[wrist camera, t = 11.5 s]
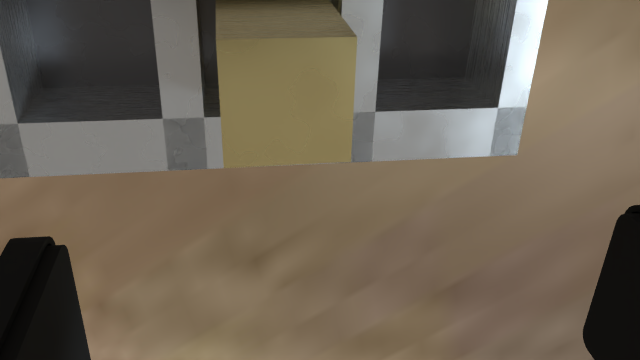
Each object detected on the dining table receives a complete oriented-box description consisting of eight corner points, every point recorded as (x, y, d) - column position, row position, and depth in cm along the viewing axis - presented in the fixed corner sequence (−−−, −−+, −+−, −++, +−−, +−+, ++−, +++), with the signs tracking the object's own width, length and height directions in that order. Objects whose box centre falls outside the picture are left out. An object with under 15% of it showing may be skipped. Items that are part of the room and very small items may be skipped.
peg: (215, -25, 25) (215, 39, 17) (309, -26, 26) (357, 36, 17) (220, 67, 27) (224, 168, 19) (308, 65, 28) (351, 161, 19)
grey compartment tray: (-28, -108, 23) (-77, -99, 19) (513, -97, 26) (565, -88, 22) (25, 132, 28) (-5, 178, 24) (478, 116, 31) (517, 154, 27)
